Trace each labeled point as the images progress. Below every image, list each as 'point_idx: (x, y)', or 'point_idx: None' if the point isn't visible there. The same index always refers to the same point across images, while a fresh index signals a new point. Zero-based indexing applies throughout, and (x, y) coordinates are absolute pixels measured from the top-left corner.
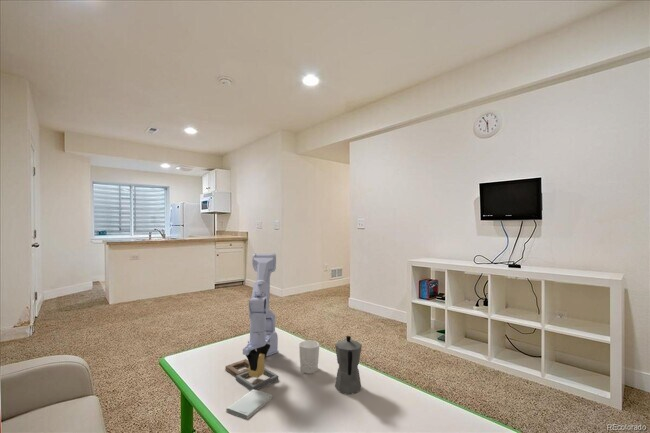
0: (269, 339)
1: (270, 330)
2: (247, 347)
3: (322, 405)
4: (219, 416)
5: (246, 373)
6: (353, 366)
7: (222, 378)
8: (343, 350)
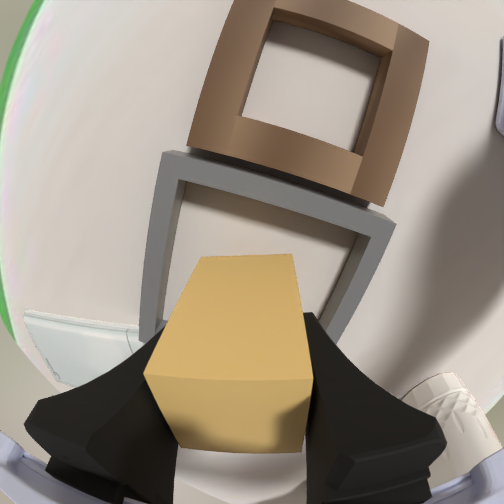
0: None
1: None
2: (27, 497)
3: (234, 474)
4: (11, 305)
5: (241, 194)
6: None
7: (143, 60)
8: None
